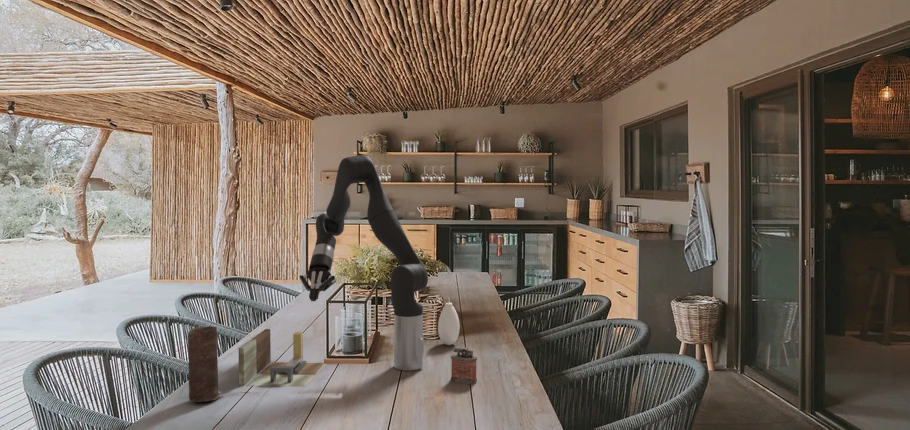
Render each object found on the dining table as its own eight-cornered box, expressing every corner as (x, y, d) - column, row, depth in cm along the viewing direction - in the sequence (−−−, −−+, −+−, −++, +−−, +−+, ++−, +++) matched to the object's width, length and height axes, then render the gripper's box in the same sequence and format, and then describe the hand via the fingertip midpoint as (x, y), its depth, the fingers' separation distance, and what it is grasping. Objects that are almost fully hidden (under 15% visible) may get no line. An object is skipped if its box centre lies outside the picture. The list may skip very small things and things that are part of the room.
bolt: (303, 362, 187) (302, 332, 186) (292, 373, 176) (292, 341, 175) (295, 362, 187) (295, 332, 186) (284, 373, 176) (284, 341, 175)
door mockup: (324, 366, 187) (324, 329, 187) (305, 390, 165) (304, 348, 165) (266, 365, 188) (265, 329, 187) (239, 389, 166) (238, 348, 165)
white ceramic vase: (435, 346, 212) (435, 297, 211) (442, 340, 219) (442, 293, 218) (455, 348, 209) (455, 298, 208) (462, 342, 217) (462, 294, 216)
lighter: (478, 380, 174) (478, 347, 174) (475, 384, 171) (475, 350, 171) (452, 377, 177) (453, 345, 177) (449, 381, 174) (449, 348, 173)
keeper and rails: (307, 364, 185) (307, 351, 185) (290, 382, 168) (290, 368, 168) (288, 364, 185) (288, 351, 185) (270, 382, 169) (270, 368, 168)
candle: (207, 407, 152) (206, 331, 152) (182, 405, 154) (181, 330, 153) (224, 396, 160) (223, 325, 159) (200, 394, 161) (199, 323, 160)
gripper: (301, 252, 205) (291, 293, 194) (338, 253, 205) (330, 294, 193) (305, 265, 211) (295, 305, 199) (342, 266, 211) (334, 306, 199)
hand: (313, 300), depth 196 cm, fingers closed
